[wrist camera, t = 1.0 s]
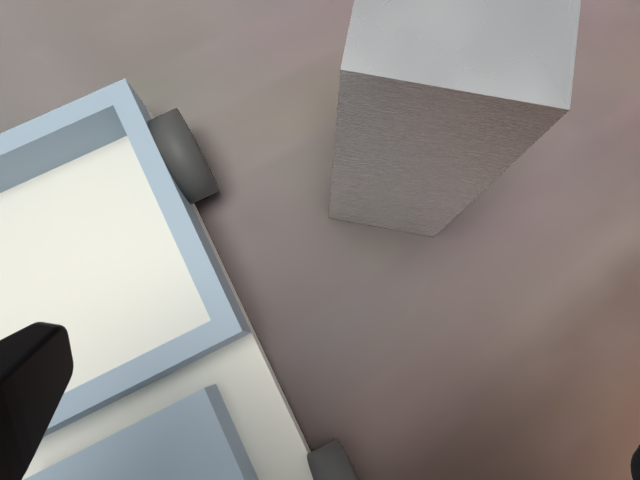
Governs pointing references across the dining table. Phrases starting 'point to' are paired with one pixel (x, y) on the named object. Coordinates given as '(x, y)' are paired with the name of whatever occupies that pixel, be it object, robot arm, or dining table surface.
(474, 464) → the dining table surface
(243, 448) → the chassis
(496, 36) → the block
